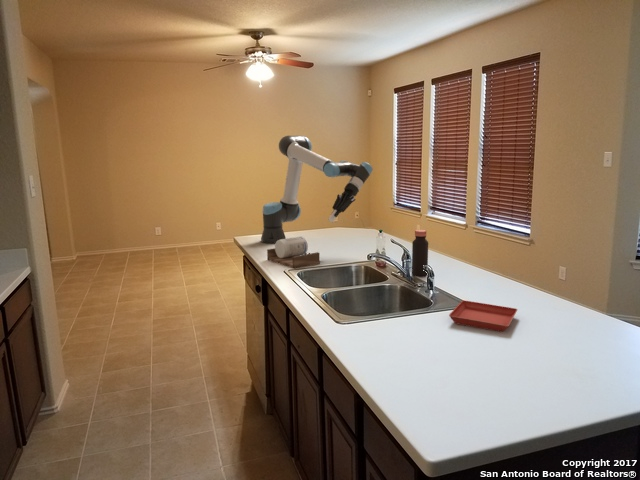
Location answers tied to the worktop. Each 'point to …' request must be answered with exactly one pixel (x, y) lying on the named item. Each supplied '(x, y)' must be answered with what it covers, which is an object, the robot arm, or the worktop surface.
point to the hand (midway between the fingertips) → (330, 220)
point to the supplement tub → (291, 247)
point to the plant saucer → (483, 315)
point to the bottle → (419, 253)
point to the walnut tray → (294, 259)
